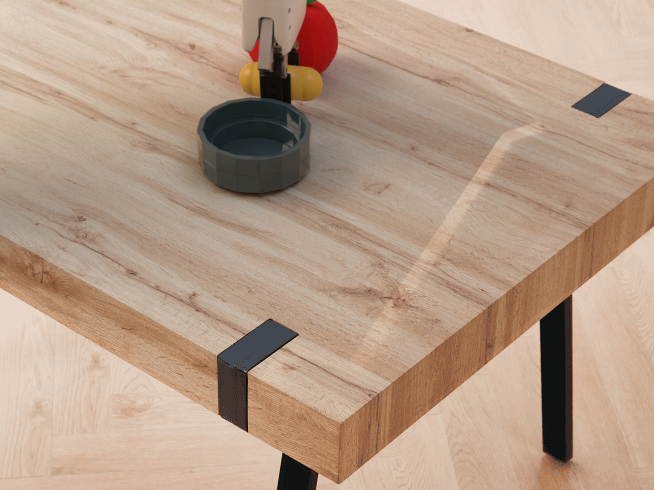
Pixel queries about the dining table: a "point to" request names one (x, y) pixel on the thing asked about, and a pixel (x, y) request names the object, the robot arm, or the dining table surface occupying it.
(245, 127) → the bowl
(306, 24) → the tomato
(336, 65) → the dining table surface
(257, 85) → the yellow capsule
